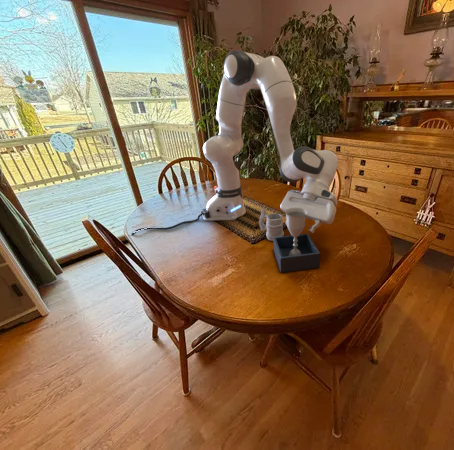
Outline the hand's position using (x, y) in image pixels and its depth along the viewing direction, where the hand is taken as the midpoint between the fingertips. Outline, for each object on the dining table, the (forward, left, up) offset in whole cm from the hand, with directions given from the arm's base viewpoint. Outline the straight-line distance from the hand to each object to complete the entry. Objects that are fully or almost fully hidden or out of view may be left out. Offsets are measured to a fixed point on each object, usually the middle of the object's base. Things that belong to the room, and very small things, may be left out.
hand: (298, 228), depth 83 cm
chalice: (-1, -1, -11) cm, 11 cm away
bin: (-1, -1, -12) cm, 12 cm away
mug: (-7, +17, -12) cm, 22 cm away
